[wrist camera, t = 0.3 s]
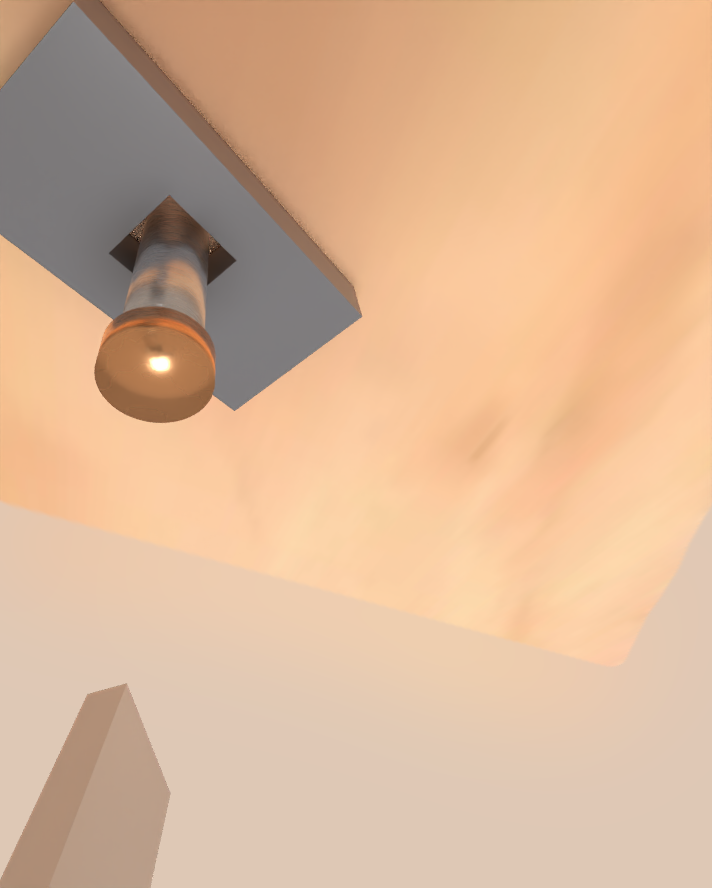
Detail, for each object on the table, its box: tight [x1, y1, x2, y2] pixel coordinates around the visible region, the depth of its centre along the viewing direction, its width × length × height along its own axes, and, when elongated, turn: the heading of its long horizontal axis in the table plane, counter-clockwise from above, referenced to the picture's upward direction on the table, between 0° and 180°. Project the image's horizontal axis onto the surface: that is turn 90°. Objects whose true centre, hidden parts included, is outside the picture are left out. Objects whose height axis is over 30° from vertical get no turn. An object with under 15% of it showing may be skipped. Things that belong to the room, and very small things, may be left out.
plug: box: [94, 197, 216, 423], centre depth 33 cm, size 5×5×16 cm
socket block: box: [0, 0, 362, 411], centre depth 37 cm, size 22×12×4 cm, turn 37°
